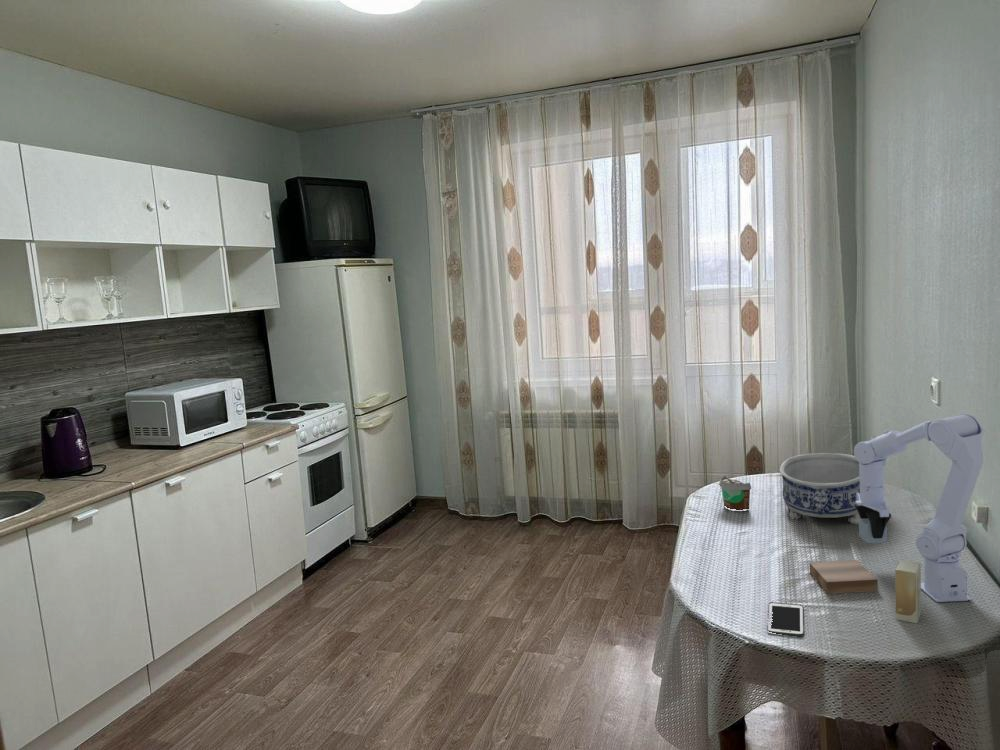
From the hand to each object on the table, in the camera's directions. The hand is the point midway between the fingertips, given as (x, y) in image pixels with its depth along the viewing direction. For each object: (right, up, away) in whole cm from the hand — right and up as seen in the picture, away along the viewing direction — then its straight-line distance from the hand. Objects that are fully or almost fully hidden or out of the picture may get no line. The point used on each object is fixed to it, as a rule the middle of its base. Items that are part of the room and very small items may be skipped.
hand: (872, 534), depth 186 cm
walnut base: (-12, -11, -8) cm, 18 cm away
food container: (-20, -4, +52) cm, 56 cm away
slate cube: (0, -1, 0) cm, 2 cm away
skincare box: (-6, -13, -27) cm, 31 cm away
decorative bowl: (+8, -2, +44) cm, 45 cm away
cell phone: (-33, -15, -24) cm, 43 cm away
